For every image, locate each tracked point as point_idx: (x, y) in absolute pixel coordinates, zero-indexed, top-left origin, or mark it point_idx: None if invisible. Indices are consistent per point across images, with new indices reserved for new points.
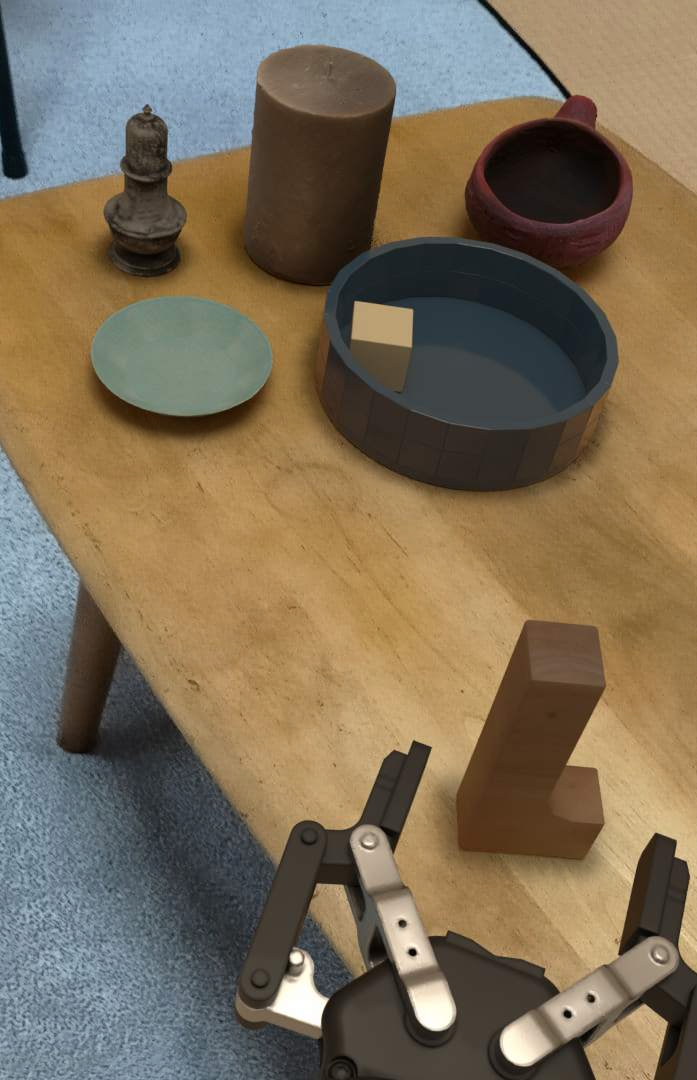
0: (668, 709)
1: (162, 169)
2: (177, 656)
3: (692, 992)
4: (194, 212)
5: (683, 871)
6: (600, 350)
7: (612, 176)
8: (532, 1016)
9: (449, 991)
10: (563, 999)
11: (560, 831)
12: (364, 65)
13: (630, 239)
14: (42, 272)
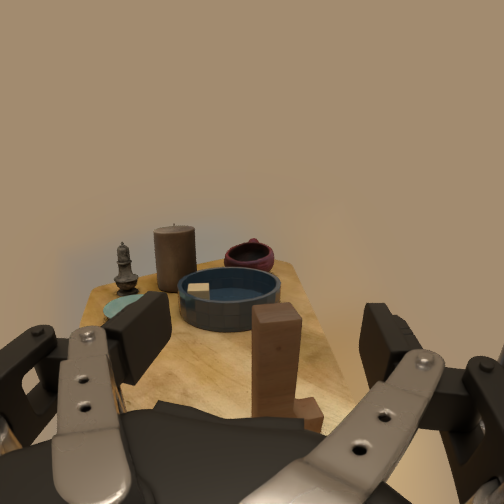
0: (335, 377)
1: (128, 260)
2: (122, 393)
3: (468, 376)
4: (144, 283)
5: (398, 319)
6: (274, 283)
7: (266, 252)
8: (296, 471)
9: (121, 451)
10: (344, 434)
11: (304, 426)
12: (185, 226)
13: (278, 272)
14: (97, 298)
